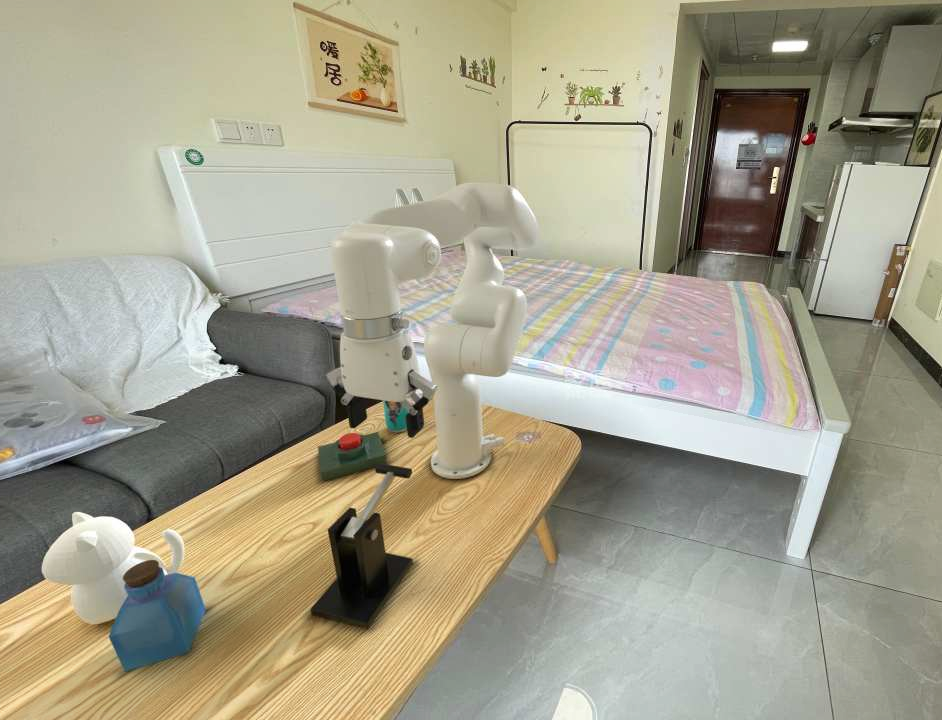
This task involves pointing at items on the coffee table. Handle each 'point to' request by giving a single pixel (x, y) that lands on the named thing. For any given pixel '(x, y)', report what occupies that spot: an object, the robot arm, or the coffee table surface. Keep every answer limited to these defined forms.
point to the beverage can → (395, 416)
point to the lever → (374, 498)
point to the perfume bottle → (156, 616)
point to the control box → (351, 457)
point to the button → (349, 441)
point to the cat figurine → (101, 563)
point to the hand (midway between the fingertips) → (387, 428)
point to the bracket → (360, 574)
